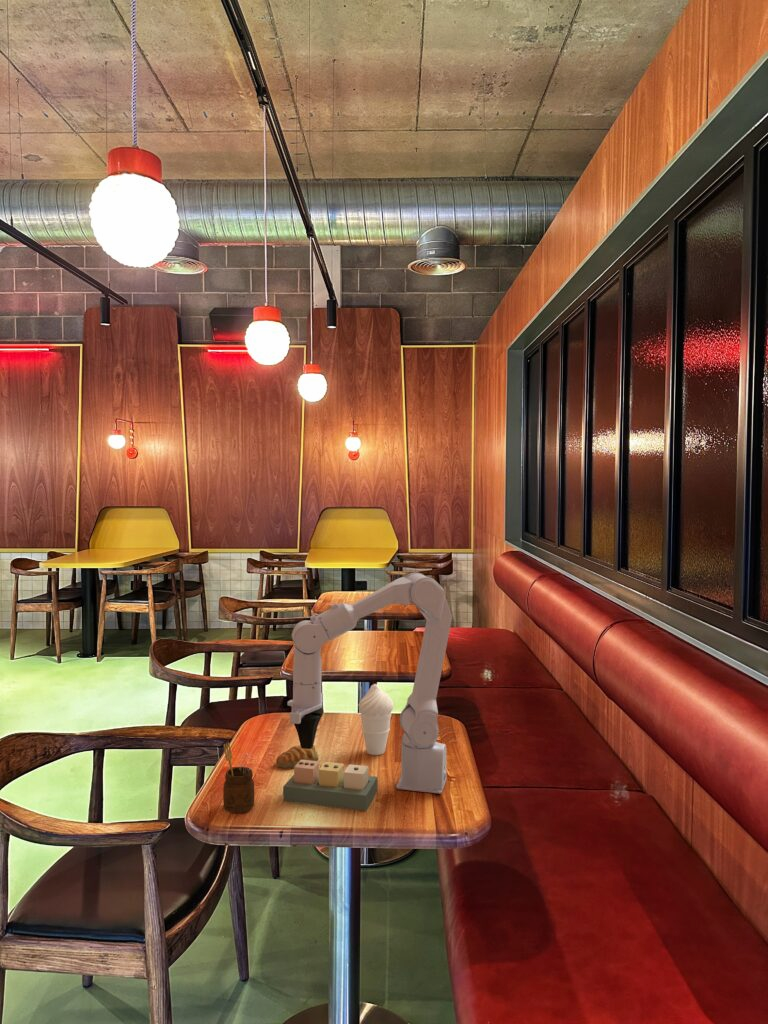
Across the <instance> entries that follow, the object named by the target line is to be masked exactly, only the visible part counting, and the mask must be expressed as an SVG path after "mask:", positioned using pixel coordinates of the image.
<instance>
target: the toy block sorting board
mask: <svg viewBox="0 0 768 1024" xmlns="http://www.w3.org/2000/svg"><path fill="white" fill-rule="evenodd" d="M378 777H379V776H373V775H368V785H367V787H366V788H365V790H358V789H349V788H344V781H343V782H342V784H341V785H340V786H339V787H331V786H322V785H319V779H318V780H317V781H316V783H315V784H314V785H313V784H304V783H295V782H294V774H292V776H291V777H290V778H289V779H288V781H286V783H285V784H284V785H283V791H282V792H283V793H282V794H283V795H282V796H283V797H282V800H283V802H288V803H296V804H297V803H298V804H304V805H305V804H306V805H313V806H321V807H329V808H337V809H338V808H339V809H346V810H356V811H362V812H363V811H364V812H365V811H367V810H368V809H369V807H370V805H371V804H372V802H373V801H374V798H375V796H376V794H377V793H378V781H379V779H378Z"/></svg>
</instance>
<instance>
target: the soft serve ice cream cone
mask: <svg viewBox="0 0 768 1024" xmlns="http://www.w3.org/2000/svg"><path fill="white" fill-rule="evenodd" d="M394 706H395V704H394V701H393V700H392V699H391V697H390V696H389V695H388V694H387V693H386V692H384V690H382V689H381V688H380V687H379V685H378V684H377V683H373V684H372V685H371V686H370V688H369V689H368V691H367V693H365V694H364V697H362V698H360V702H359V703H358V711H359V712H360V718H361V725H362V728H361V731H362V735H363V739H364V744H365V749H366V753H367V754H368V755H370V756H380V755H383V754H385V752H386V747H387V743H388V737H389V732H390V731H391V727H390V726H391V717H392V711H393V710H394Z"/></svg>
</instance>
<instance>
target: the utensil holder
mask: <svg viewBox="0 0 768 1024" xmlns="http://www.w3.org/2000/svg"><path fill="white" fill-rule="evenodd" d="M223 750H224V756H225V761H228V765H229V769H227V770H226V772H225V776H224V779H225V780H224V783H223V788H222V789H223V791H222V792H223V799H222V800H223V801H222V802H223V809H224V810H225V811H226V812H227V813H230V814H243V813H247V812H249V811H251V810H252V809H253V808H254V806H255V781H254V779H253V776H254V775H253V770H252V769H251V767H252V766H250V764H252V762H253V760H252V758H251V757H252V756H251V754H250V753H249V752H248V753H247V752H246V753H244V752H243V754H242V756H240V759H241V760H239V762H238V764H239V766H236V767H233V766H232V765H233V764H232V759H233V753H232V749H231V745H230V742H229V741H228V742H227V743H224V744H223ZM247 755H248V756H249V758H248V759H249V760H248V759H245V758H247ZM242 757H243V759H242ZM244 759H245V761H244V764H243V763H242V761H243V760H244ZM247 761H249V763H250V764H248V765H247V766H242V764H243V765H246V763H247ZM245 762H246V763H245Z"/></svg>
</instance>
